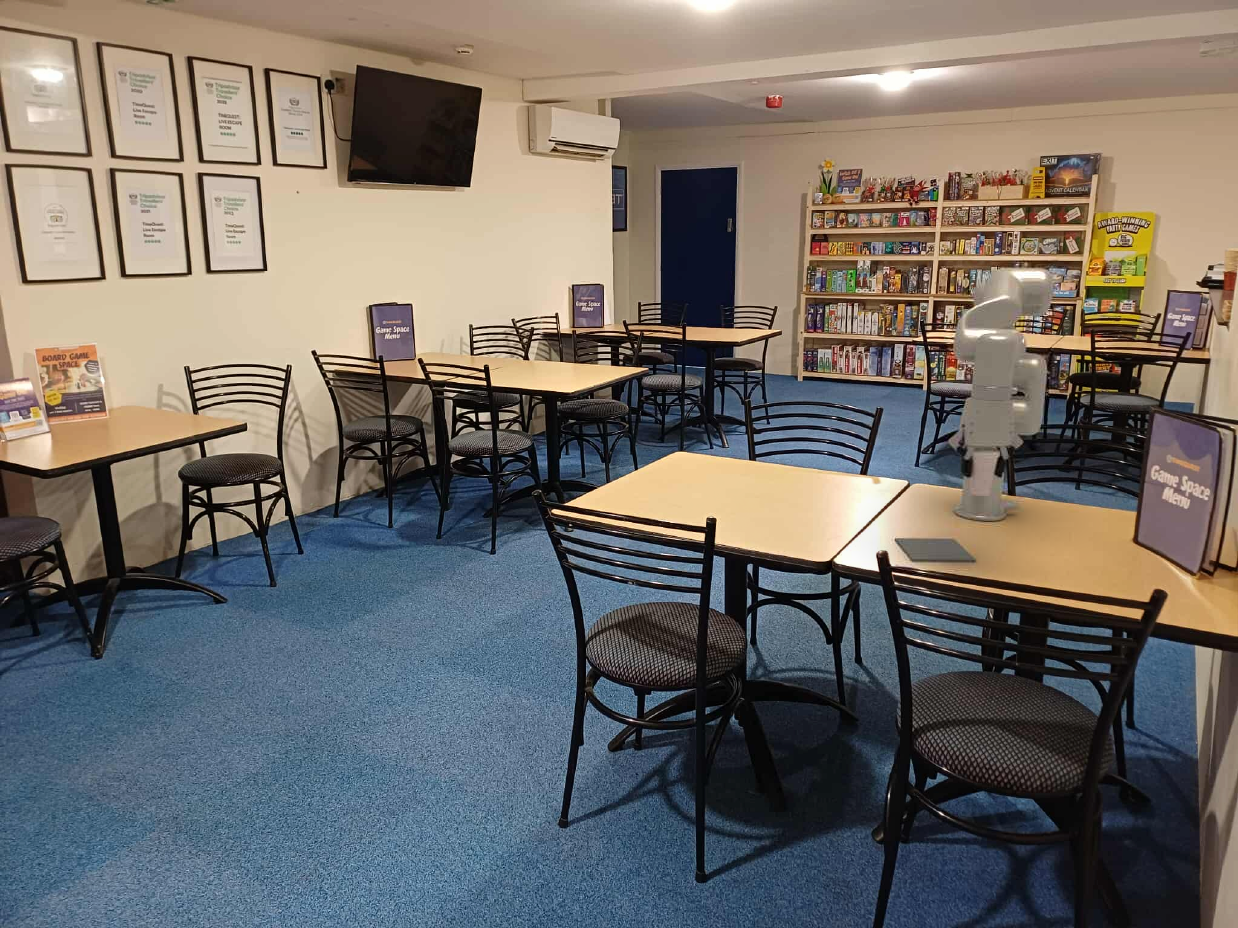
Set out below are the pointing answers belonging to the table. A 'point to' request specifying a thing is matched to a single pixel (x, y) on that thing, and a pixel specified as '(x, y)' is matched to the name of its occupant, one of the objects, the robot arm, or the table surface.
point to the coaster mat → (934, 550)
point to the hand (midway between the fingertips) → (981, 475)
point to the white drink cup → (983, 470)
